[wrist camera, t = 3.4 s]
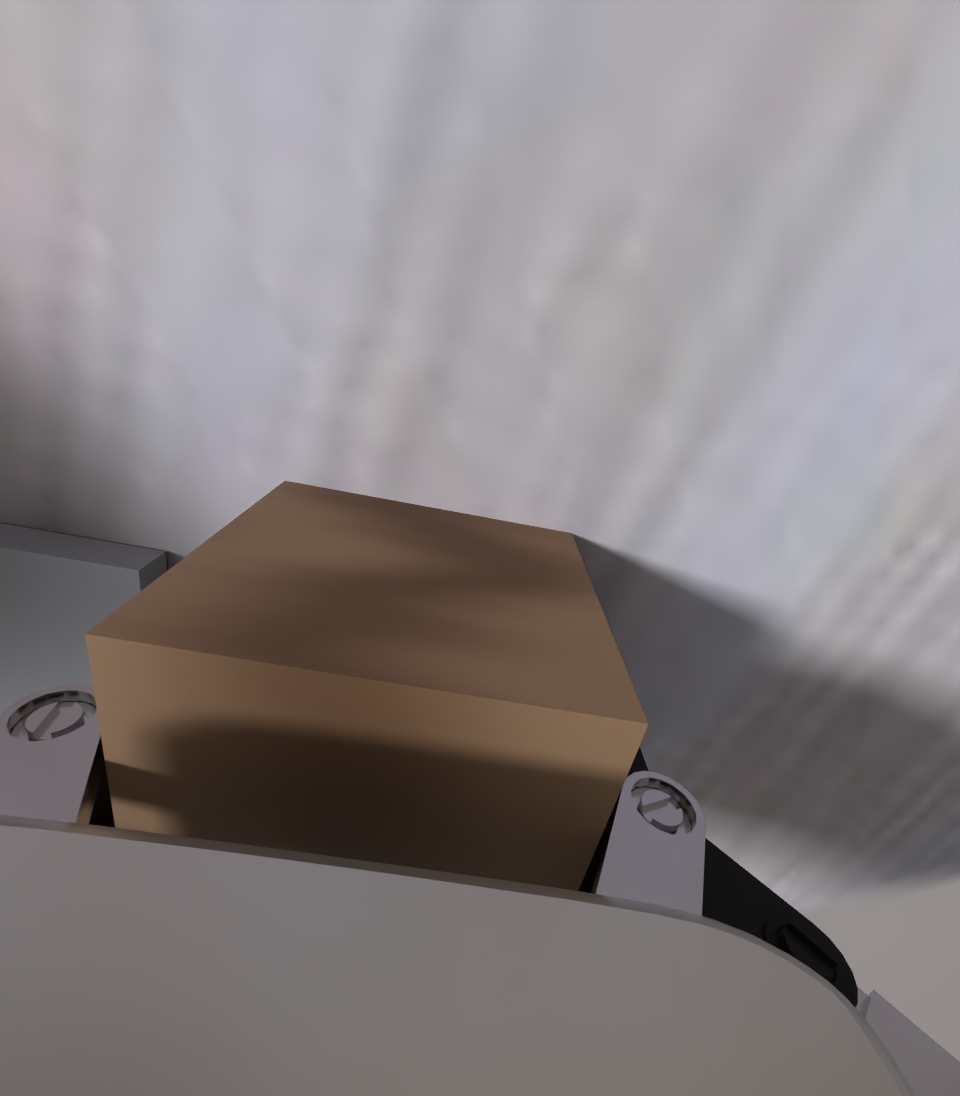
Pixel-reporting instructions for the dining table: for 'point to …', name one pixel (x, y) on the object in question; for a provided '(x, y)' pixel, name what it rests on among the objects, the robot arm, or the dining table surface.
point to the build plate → (60, 603)
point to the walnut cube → (371, 691)
